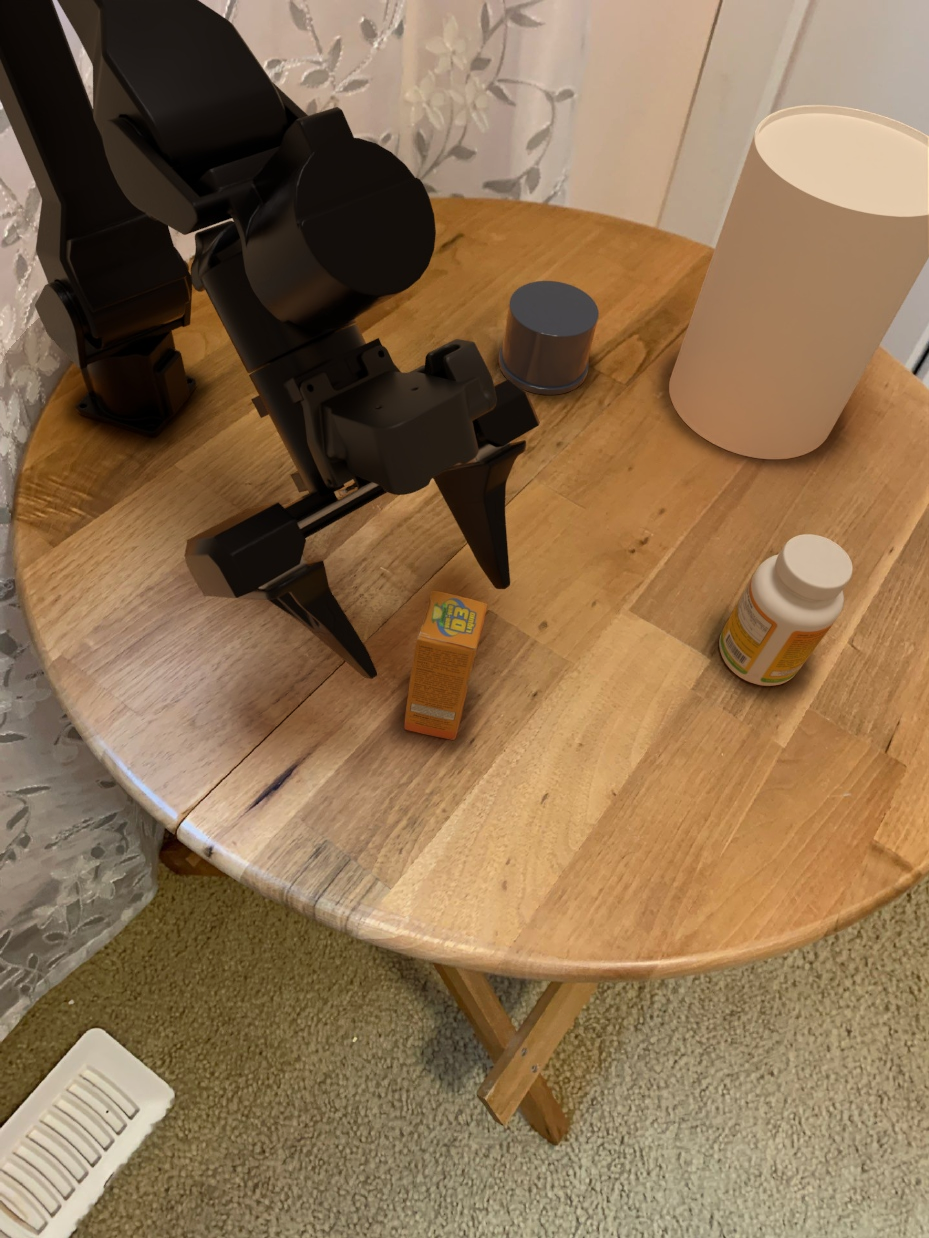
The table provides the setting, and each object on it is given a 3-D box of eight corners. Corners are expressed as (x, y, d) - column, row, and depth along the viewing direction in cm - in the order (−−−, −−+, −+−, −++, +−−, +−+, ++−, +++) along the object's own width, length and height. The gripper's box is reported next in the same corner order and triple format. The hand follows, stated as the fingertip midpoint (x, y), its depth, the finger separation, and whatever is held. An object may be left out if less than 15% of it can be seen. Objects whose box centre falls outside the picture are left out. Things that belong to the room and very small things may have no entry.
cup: (574, 405, 71) (588, 348, 66) (486, 379, 72) (494, 321, 67) (599, 343, 76) (614, 286, 71) (517, 320, 76) (526, 262, 72)
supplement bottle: (806, 639, 59) (873, 545, 51) (788, 701, 56) (857, 612, 48) (728, 607, 60) (783, 511, 52) (707, 667, 57) (761, 574, 49)
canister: (669, 336, 77) (749, 92, 61) (824, 361, 77) (946, 123, 60) (668, 443, 69) (760, 196, 53) (841, 471, 69) (986, 232, 53)
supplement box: (459, 744, 52) (476, 651, 44) (403, 731, 53) (409, 636, 44) (470, 696, 54) (488, 599, 46) (415, 684, 55) (424, 585, 46)
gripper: (170, 399, 31) (366, 758, 36) (543, 233, 40) (663, 543, 44) (111, 439, 41) (272, 720, 46) (421, 298, 49) (531, 549, 54)
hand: (440, 630), depth 47 cm, fingers open, 9 cm apart
